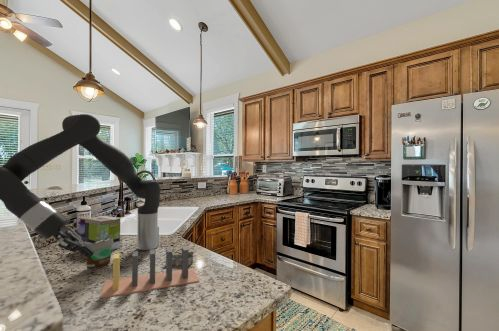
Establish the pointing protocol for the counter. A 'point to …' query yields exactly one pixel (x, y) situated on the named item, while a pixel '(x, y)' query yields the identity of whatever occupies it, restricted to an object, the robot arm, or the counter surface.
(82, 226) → the potion bottle
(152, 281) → the charcoal domino
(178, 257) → the egg carton
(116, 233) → the tea box
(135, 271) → the charcoal domino
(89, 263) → the food container
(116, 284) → the ochre domino
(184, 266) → the charcoal domino
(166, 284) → the terracotta mat
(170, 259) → the charcoal domino
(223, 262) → the counter surface
